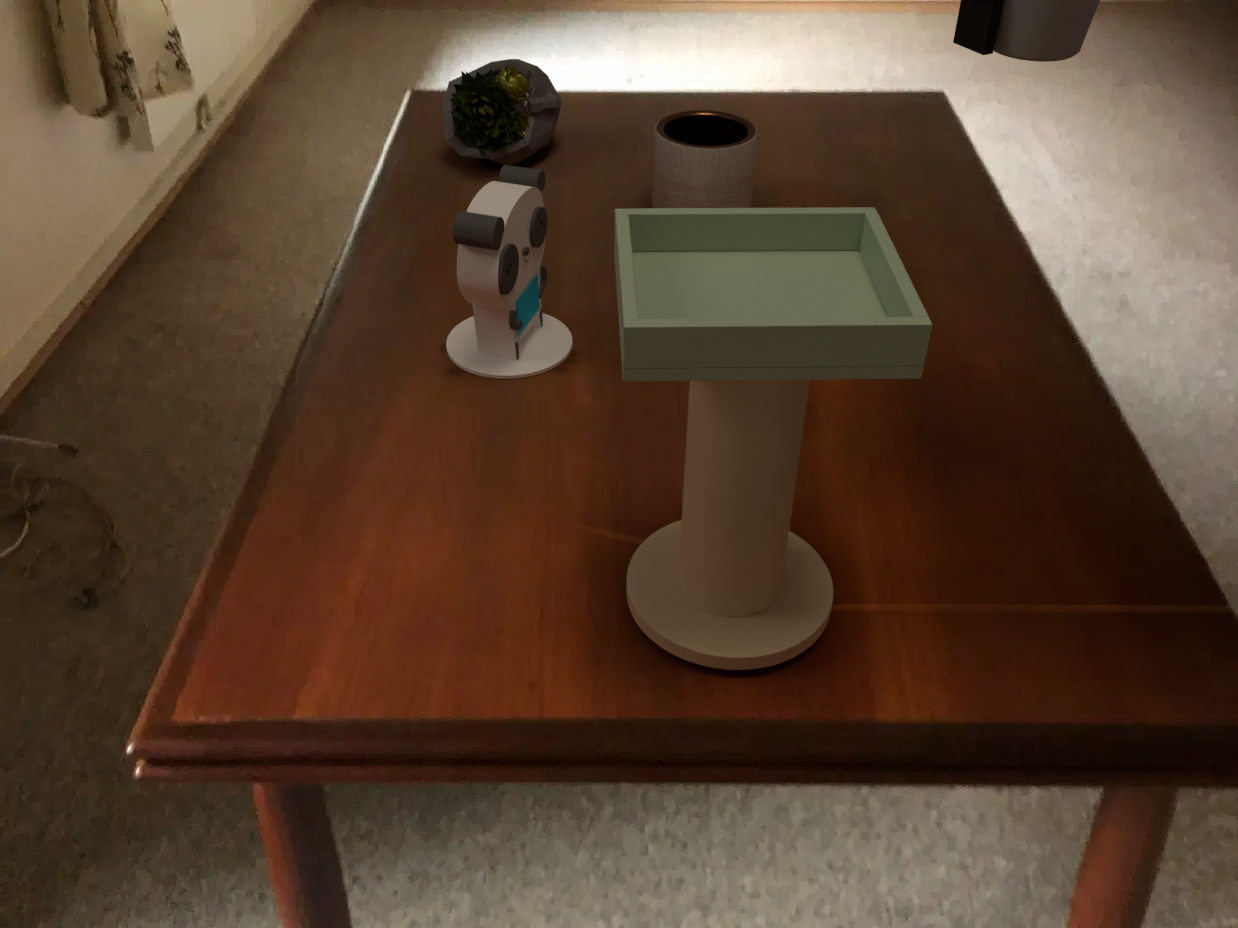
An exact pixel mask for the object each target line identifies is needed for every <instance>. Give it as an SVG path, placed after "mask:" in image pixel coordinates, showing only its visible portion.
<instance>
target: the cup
mask: <svg viewBox="0 0 1238 928" xmlns="http://www.w3.org/2000/svg"><path fill="white" fill-rule="evenodd" d="M1100 2H1101V0H1004V3H1003V7H1002V12H1001V17H1000V22H999V27H998V31H997V36H996V41H995V46H994V51H993V53H994V52H995V53H997V54H998V55H1001V56H1005V57H1007V58H1010V59H1015V60H1021V61H1029V62H1041V63H1042V62H1043V63H1044V62H1046V63H1047V62H1049V63H1051V62H1060V61H1066V60H1069V59H1071V58H1073V57H1075V56H1076V55H1078V54H1079V53H1080V52H1081V49H1082V47H1083V44H1084V42H1085V40H1086V37H1087V34H1088V32H1089V29H1090V27H1091V25H1092V22H1093V20H1094V17H1095V14H1096V12H1097V10H1098V6H1099V4H1100Z"/></svg>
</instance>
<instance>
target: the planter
mask: <svg viewBox="0 0 1238 928" xmlns="http://www.w3.org/2000/svg"><path fill="white" fill-rule="evenodd" d="M757 138H758V129H757V127H756V126H755V125H754V123H752V121H750V120H748V119H747V118H745V117H742V116H740V115H737V114H734V113H730V112H725V111H719V110H710V109H708V110H707V109H694V110H693V109H692V110H684V111H679V112H674V113H671V114H668V115H666V116H663V117H662V118H661V119H659V120H658V121H657V122H656V123H655V125H654V141H653V142H654V143H653V161H652V162H653V165H652V181H651V201H650V202H651V208H752V206H753V192H754V191H753V190H754V176H755V163H756V151H757V150H756V149H757V140H758V139H757Z"/></svg>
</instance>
